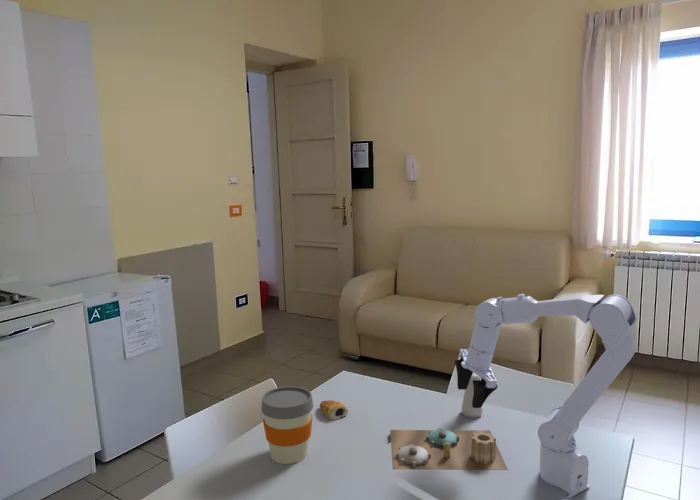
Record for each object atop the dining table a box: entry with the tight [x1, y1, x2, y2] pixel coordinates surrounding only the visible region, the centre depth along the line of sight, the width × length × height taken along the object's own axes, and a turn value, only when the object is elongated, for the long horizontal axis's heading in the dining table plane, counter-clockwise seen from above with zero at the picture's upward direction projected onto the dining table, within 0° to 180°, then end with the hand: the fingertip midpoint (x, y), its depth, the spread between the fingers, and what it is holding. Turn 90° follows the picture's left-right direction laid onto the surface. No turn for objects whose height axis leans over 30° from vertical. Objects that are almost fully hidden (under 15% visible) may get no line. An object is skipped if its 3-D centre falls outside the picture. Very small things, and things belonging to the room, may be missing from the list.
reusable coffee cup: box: [261, 385, 314, 465], centre depth 126 cm, size 13×13×15 cm
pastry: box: [319, 399, 349, 421], centre depth 148 cm, size 9×7×4 cm
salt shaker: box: [461, 372, 484, 419], centre depth 143 cm, size 6×6×13 cm
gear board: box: [389, 427, 509, 471], centre depth 125 cm, size 26×18×5 cm
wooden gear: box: [471, 432, 497, 464], centre depth 121 cm, size 6×6×5 cm
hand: (468, 397), depth 124 cm, fingers open, 7 cm apart
